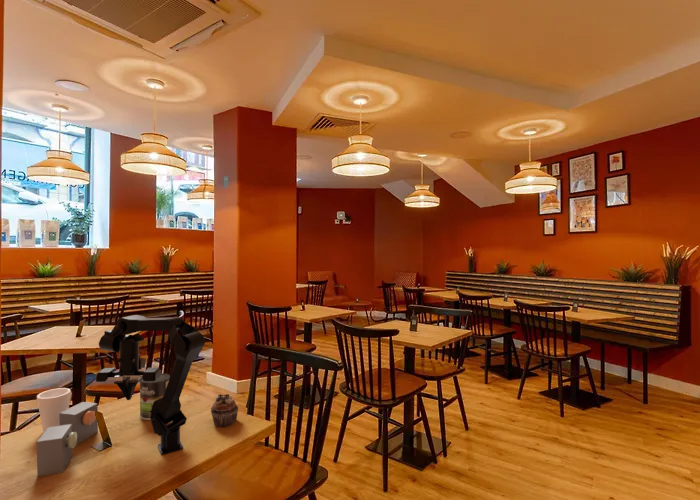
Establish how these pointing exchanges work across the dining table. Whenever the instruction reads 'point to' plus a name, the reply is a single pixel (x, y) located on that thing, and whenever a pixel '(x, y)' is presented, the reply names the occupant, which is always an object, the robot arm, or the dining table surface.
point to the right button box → (79, 420)
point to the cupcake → (224, 411)
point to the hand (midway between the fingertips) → (129, 399)
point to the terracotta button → (89, 417)
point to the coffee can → (151, 394)
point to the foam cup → (53, 406)
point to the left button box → (53, 450)
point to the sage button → (71, 440)
